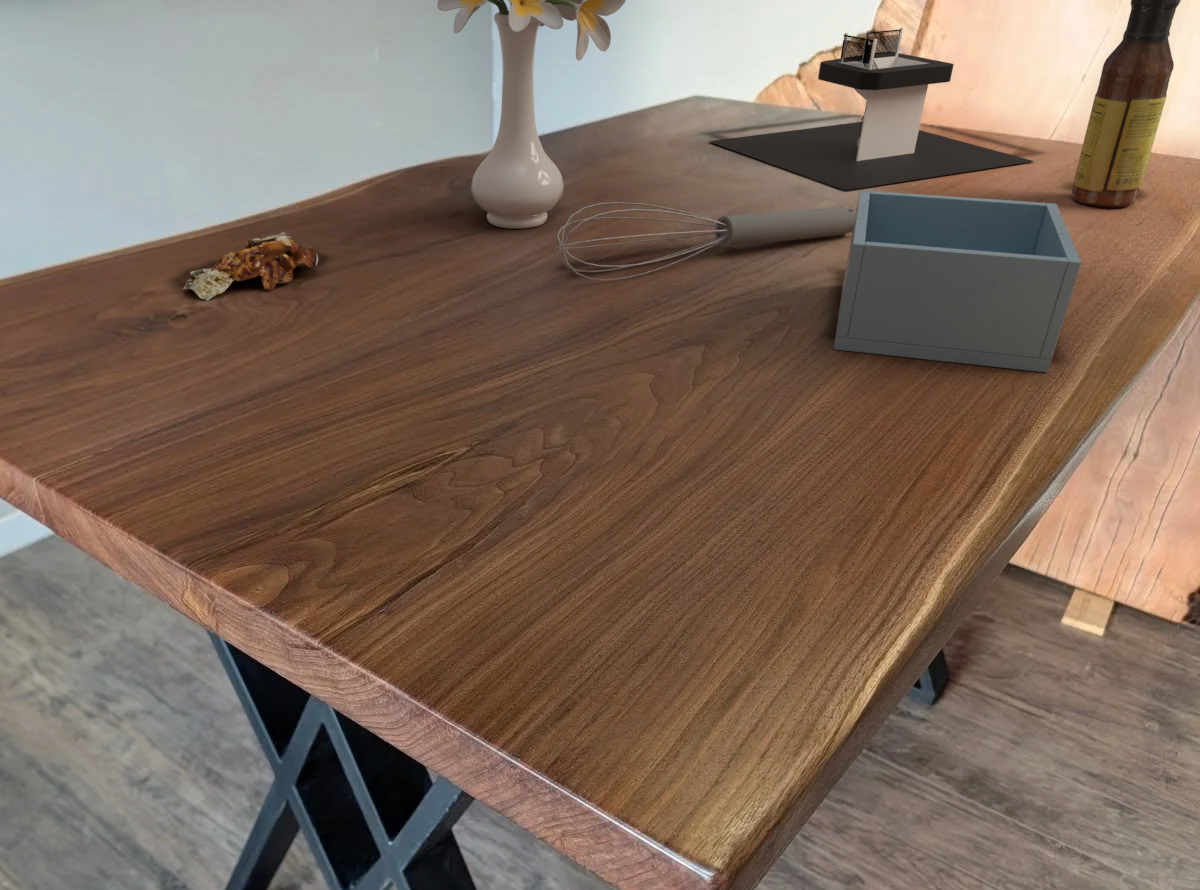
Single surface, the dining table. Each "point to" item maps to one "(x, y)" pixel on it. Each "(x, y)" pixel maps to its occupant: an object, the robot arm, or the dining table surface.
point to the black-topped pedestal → (874, 125)
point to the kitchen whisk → (733, 230)
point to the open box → (957, 280)
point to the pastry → (253, 265)
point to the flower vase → (526, 106)
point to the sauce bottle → (1127, 109)
